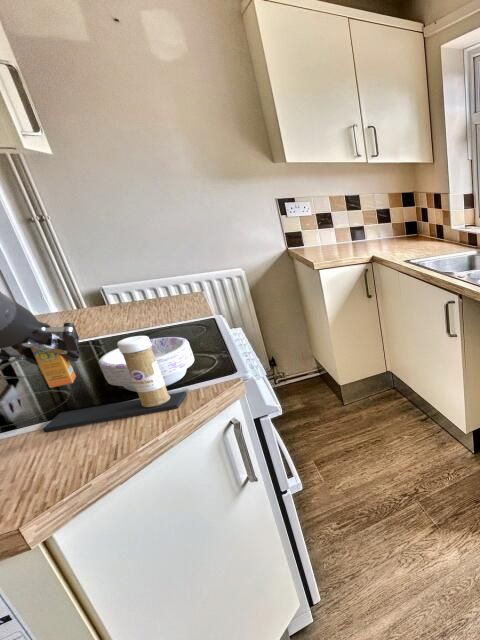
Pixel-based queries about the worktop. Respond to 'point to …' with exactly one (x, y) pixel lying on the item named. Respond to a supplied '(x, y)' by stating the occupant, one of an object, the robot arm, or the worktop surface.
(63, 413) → the strip
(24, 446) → the worktop surface
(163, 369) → the paper bowls
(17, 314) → the robot arm
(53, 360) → the supplement box
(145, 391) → the sprinkles bottle
